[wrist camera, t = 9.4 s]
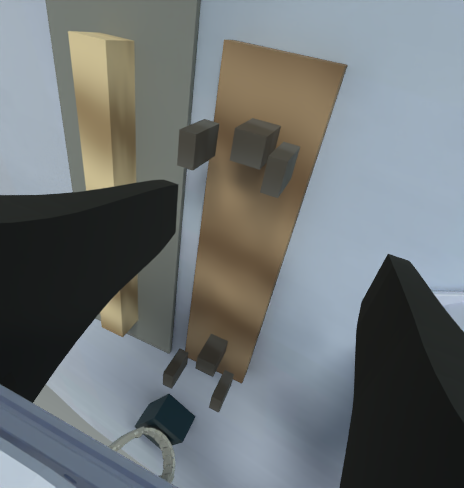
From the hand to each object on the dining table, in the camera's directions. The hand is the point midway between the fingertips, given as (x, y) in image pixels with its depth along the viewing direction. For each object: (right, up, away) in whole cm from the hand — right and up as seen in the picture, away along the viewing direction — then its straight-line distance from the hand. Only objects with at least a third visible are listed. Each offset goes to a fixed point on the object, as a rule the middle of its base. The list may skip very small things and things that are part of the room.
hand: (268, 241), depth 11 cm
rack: (-1, -1, +13) cm, 13 cm away
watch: (-9, -21, +29) cm, 37 cm away
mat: (-10, +3, +15) cm, 18 cm away
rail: (-10, +2, +15) cm, 18 cm away
